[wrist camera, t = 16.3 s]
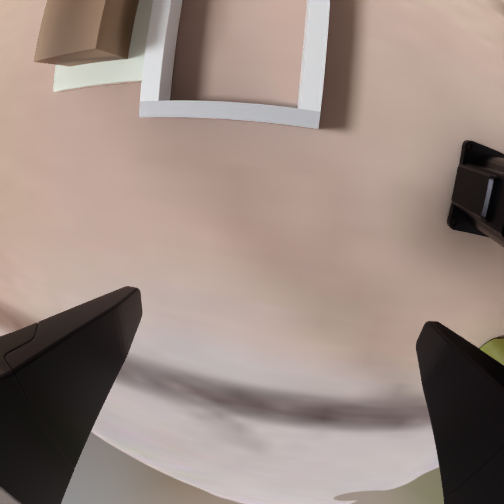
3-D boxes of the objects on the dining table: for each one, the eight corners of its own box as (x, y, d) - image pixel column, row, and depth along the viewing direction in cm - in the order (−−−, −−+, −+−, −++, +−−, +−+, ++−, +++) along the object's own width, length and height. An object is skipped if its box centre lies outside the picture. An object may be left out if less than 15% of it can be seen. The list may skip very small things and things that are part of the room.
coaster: (166, -20, 14) (161, -24, 13) (150, 81, 17) (145, 80, 16) (73, 1, 14) (68, -1, 13) (59, 92, 17) (52, 92, 17)
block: (143, -17, 13) (116, -39, 10) (127, 59, 16) (95, 48, 12) (84, -4, 13) (53, -19, 10) (69, 66, 16) (33, 61, 12)
